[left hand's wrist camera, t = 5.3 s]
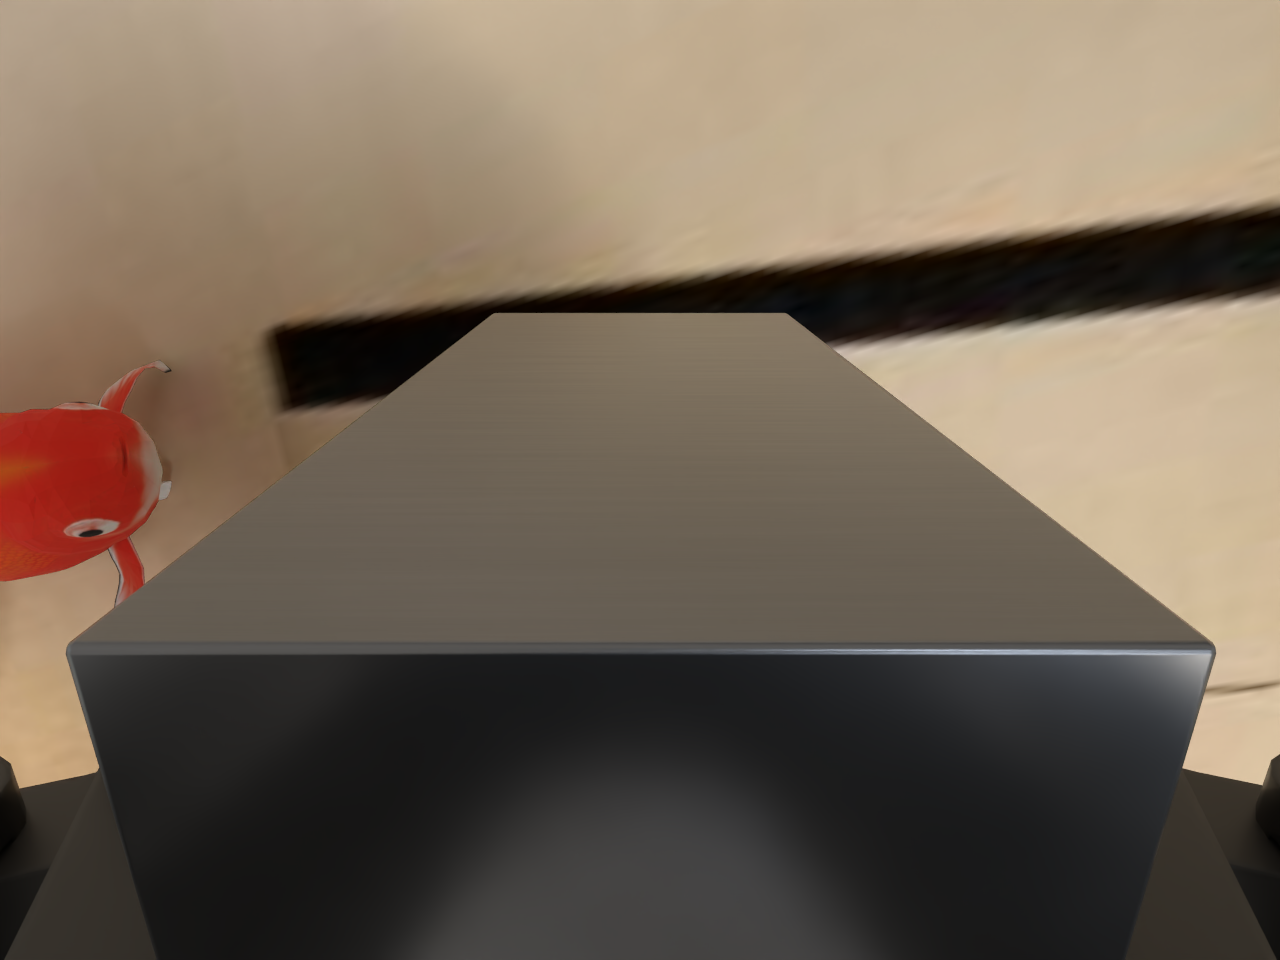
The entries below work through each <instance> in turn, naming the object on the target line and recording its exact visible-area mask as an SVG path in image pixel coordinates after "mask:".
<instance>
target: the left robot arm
mask: <svg viewBox="0 0 1280 960" xmlns="http://www.w3.org/2000/svg"><path fill="white" fill-rule="evenodd" d="M0 960H156V956H155V953H154V949H153V946H152V943H151V939H150V936H149V933H148V929H147V926H146V922H145V919H144V916H143V912H142V909H141V906H140V902H139V899H138V896H137V892H136V889H135V885H134V882H133V879H132V875H131V872H130V869H129V865H128V862H127V858H126V855H125V852H124V848H123V845H122V842H121V838H120V835H119V831H118V828H117V825H116V821H115V818H114V815H113V811H112V808H111V804H110V801H109V798H108V794H107V791H106V788H105V784H104V781H103V777H102V774H101V771H100V767H99V769H98V771H97V772H96V773H92V774H88V775H84V776H79V777H74V778H69V779H64V780H60V781H55V782H50V783H45V784H40V785H35V786H30V787H25V788H21V789H19V787H18V784H17V781H16V778H15V775H14V772H13V769H12V766H11V764H10V763H9V762H8V761H6V760H5V759H3V758H2V757H0ZM1125 960H1280V754H1279V755H1278V756H1277V757H1275V758H1274V759H1272V760H1271V763H1270V766H1269V768H1268V771H1267V774H1266V777H1265V780H1264V783H1263V786H1262V785H1258V784H1253V783H1248V782H1243V781H1238V780H1233V779H1228V778H1223V777H1218V776H1214V775H1209V774H1204V773H1199V772H1194V771H1191V770H1187V769H1183V768H1182V770H1181V773H1180V777H1179V780H1178V783H1177V787H1176V790H1175V793H1174V797H1173V800H1172V803H1171V807H1170V810H1169V814H1168V817H1167V820H1166V824H1165V827H1164V830H1163V834H1162V837H1161V840H1160V844H1159V847H1158V851H1157V854H1156V857H1155V861H1154V864H1153V867H1152V871H1151V874H1150V877H1149V881H1148V884H1147V887H1146V891H1145V894H1144V898H1143V901H1142V904H1141V908H1140V911H1139V914H1138V918H1137V921H1136V924H1135V928H1134V931H1133V935H1132V938H1131V941H1130V945H1129V948H1128V951H1127V955H1126V958H1125Z"/></svg>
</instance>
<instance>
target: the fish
mask: <svg viewBox="0 0 1280 960" xmlns="http://www.w3.org/2000/svg"><path fill="white" fill-rule="evenodd" d="M153 367H155V368H157V369H159V370H161V371H163V372H165V373H166V372H170V371H171V369H170V368H169V367H167V366H166V365H165V364H164V363H163V362H162V361H160V360H158V361H155V362H152V363H150V364H147V365H145V366H142V367H140V368H137V369H134V370H132V371H130V372H129V373H127V374H126V375H124V376H123V377H122V378H121V379H119V380H118V381H117V382H115V383H114V384H113V385H112V386H110V387H109V388H108V389H107V390H106V392H105V393H104V394H103V396H102V397H101V399H100V401H99V403H98V406H97V405H94V404H91V403H85V402H68V403H64V404H60V405H58V406H56V407H54V408H52V409H50V410H42V409H30V410H27V411H24V412H21V413H0V581H10V580H17V579H22V578H27V577H33V576H38V575H43V574H48V573H53V572H57V571H61V570H64V569H67V568H70V567H73V566H75V565H77V564H79V563H81V562H83V561H85V560H88V559H90V558H92V557H94V556H96V555H98V554H100V553H102V552H104V551H105V550H107V549H108V551H109V553H110V556H111V558H112V559H113V561H114V563H115V565H116V567H117V569H118V571H119V586H118V591H117V595H116V600H115V606H114V608H115V607H116V606H117V605H119V604H120V603H121V602H122V601H124V600H125V599H126V598H128V597H129V596H130V595H131V594H133V593H134V592H135V591H137V590H138V589H139V588H140V587H142V586H143V585H144V584H145V579H144V568H143V565H142V563H141V561H140V559H139V556H138V554H137V552H136V550H135V548H134V546H133V543H132V541H131V539H130V537H129V536H130V535H131V534H132V533H133V532H135V531H136V530H137V529H138V528H139V527H140V526H142V525H143V524H144V523H145V522H146V521H147V519H148V517H149V516H150V514H151V512H152V511H153V509H154V508H155V507H156V504H157V502H158V501H159V500H162V499H166V498H167V497H168V495H169V492H170V489H171V484H172V482H171V481H163V482H161V481H162V474H163V470H162V466H161V462H160V459H159V456H158V453H157V450H156V447H155V444H154V441H153V440H152V439H151V438H150V436H149V435H148V434H147V432H146V431H145V430H144V429H143V427H142V426H141V425H140V423H139V422H137V421H135V420H134V419H132V418H130V417H128V416H127V415H125V414H123V413H122V411H123V407H124V404H125V401H126V400H127V398H128V396H129V394H130V392H131V390H132V388H133V386H134V384H135V381H136V379H137V377H138V376H139V375H140V374H141V373H142V371H143V370H144V369H145V368H153Z"/></svg>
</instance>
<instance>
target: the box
mask: <svg viewBox="0 0 1280 960" xmlns="http://www.w3.org/2000/svg"><path fill="white" fill-rule="evenodd" d="M66 656H67V659H68V663H69V666H70V670H71V673H72V676H73V680H74V683H75V686H76V690H77V693H78V697H79V700H80V703H81V707H82V710H83V713H84V717H85V720H86V724H87V727H88V730H89V734H90V737H91V740H92V744H93V747H94V751H95V754H96V757H97V761H98V764H99V767H100V771H101V774H102V777H103V781H104V784H105V788H106V791H107V794H108V798H109V801H110V804H111V808H112V811H113V815H114V818H115V821H116V825H117V828H118V831H119V835H120V838H121V842H122V845H123V848H124V852H125V855H126V858H127V862H128V865H129V869H130V872H131V875H132V879H133V882H134V885H135V889H136V892H137V896H138V899H139V902H140V906H141V909H142V912H143V916H144V919H145V922H146V926H147V929H148V933H149V936H150V939H151V943H152V946H153V949H154V953H155V956H156V960H1125V958H1126V955H1127V951H1128V948H1129V945H1130V941H1131V938H1132V935H1133V931H1134V928H1135V924H1136V921H1137V918H1138V914H1139V911H1140V908H1141V904H1142V901H1143V898H1144V894H1145V891H1146V887H1147V884H1148V881H1149V877H1150V874H1151V871H1152V867H1153V864H1154V861H1155V857H1156V854H1157V851H1158V847H1159V844H1160V840H1161V837H1162V834H1163V830H1164V827H1165V824H1166V820H1167V817H1168V814H1169V810H1170V807H1171V803H1172V800H1173V797H1174V793H1175V790H1176V787H1177V783H1178V780H1179V777H1180V773H1181V770H1182V767H1183V763H1184V760H1185V756H1186V753H1187V750H1188V746H1189V743H1190V740H1191V736H1192V733H1193V730H1194V726H1195V723H1196V719H1197V716H1198V713H1199V709H1200V706H1201V703H1202V699H1203V696H1204V693H1205V689H1206V686H1207V683H1208V679H1209V676H1210V672H1211V669H1212V666H1213V662H1214V659H1215V656H1216V649H1215V646H1214V644H1213V643H1212V642H1211V641H1210V640H1209V639H1207V638H1206V637H1205V636H1203V635H1202V634H1201V633H1200V632H1198V631H1197V630H1196V629H1194V628H1193V627H1192V626H1190V625H1189V624H1188V623H1187V622H1185V621H1184V620H1183V619H1181V618H1180V617H1179V616H1178V615H1176V614H1175V613H1174V612H1172V611H1171V610H1170V609H1168V608H1167V607H1166V606H1165V605H1163V604H1162V603H1161V602H1159V601H1158V600H1157V599H1156V598H1154V597H1153V596H1152V595H1150V594H1149V593H1148V592H1146V591H1145V590H1144V589H1143V588H1141V587H1140V586H1139V585H1137V584H1136V583H1135V582H1134V581H1132V580H1131V579H1130V578H1128V577H1127V576H1126V575H1124V574H1123V573H1122V572H1121V571H1119V570H1118V569H1117V568H1115V567H1114V566H1113V565H1112V564H1110V563H1109V562H1108V561H1106V560H1105V559H1104V558H1102V557H1101V556H1100V555H1099V554H1097V553H1096V552H1095V551H1093V550H1092V549H1091V548H1089V547H1088V546H1087V545H1086V544H1084V543H1083V542H1082V541H1080V540H1079V539H1078V538H1077V537H1075V536H1074V535H1073V534H1071V533H1070V532H1069V531H1067V530H1066V529H1065V528H1064V527H1062V526H1061V525H1060V524H1058V523H1057V522H1056V521H1055V520H1053V519H1052V518H1051V517H1049V516H1048V515H1047V514H1045V513H1044V512H1043V511H1042V510H1040V509H1039V508H1038V507H1036V506H1035V505H1034V504H1033V503H1031V502H1030V501H1029V500H1027V499H1026V498H1025V497H1023V496H1022V495H1021V494H1020V493H1018V492H1017V491H1016V490H1014V489H1013V488H1012V487H1011V486H1009V485H1008V484H1007V483H1005V482H1004V481H1003V480H1001V479H1000V478H999V477H998V476H996V475H995V474H994V473H992V472H991V471H990V470H989V469H987V468H986V467H985V466H983V465H982V464H981V463H979V462H978V461H977V460H976V459H974V458H973V457H972V456H970V455H969V454H968V453H967V452H965V451H964V450H963V449H961V448H960V447H959V446H957V445H956V444H955V443H954V442H952V441H951V440H950V439H948V438H947V437H946V436H944V435H943V434H942V433H941V432H939V431H938V430H937V429H935V428H934V427H933V426H932V425H930V424H929V423H928V422H926V421H925V420H924V419H922V418H921V417H920V416H919V415H917V414H916V413H915V412H913V411H912V410H911V409H910V408H908V407H907V406H906V405H904V404H903V403H902V402H900V401H899V400H898V399H897V398H895V397H894V396H893V395H891V394H890V393H889V392H888V391H886V390H885V389H884V388H882V387H881V386H880V385H878V384H877V383H876V382H875V381H873V380H872V379H871V378H869V377H868V376H867V375H866V374H864V373H863V372H862V371H860V370H859V369H858V368H856V367H855V366H854V365H853V364H851V363H850V362H849V361H847V360H846V359H845V358H844V357H842V356H841V355H840V354H838V353H837V352H836V351H834V350H833V349H832V348H831V347H829V346H828V345H827V344H825V343H824V342H823V341H821V340H820V339H819V338H818V337H816V336H815V335H814V334H812V333H811V332H810V331H809V330H807V329H806V328H805V327H803V326H802V325H801V324H799V323H798V322H797V321H796V320H794V319H793V318H792V317H790V316H789V315H788V314H786V313H494V314H492V315H491V316H490V317H488V318H487V319H486V320H485V321H483V322H482V323H481V324H479V325H478V326H477V327H476V328H474V329H473V330H472V331H470V332H469V333H468V334H467V335H465V336H464V337H463V338H461V339H460V340H459V341H458V342H456V343H455V344H454V345H452V346H451V347H450V348H449V349H447V350H446V351H445V352H443V353H442V354H441V355H439V356H438V357H437V358H436V359H434V360H433V361H432V362H430V363H429V364H428V365H427V366H425V367H424V368H423V369H421V370H420V371H419V372H418V373H416V374H415V375H414V376H412V377H411V378H410V379H409V380H407V381H406V382H405V383H403V384H402V385H401V386H400V387H398V388H397V389H396V390H394V391H393V392H392V393H391V394H389V395H388V396H387V397H385V398H384V399H383V400H381V401H380V402H379V403H378V404H376V405H375V406H374V407H372V408H371V409H370V410H369V411H367V412H366V413H365V414H363V415H362V416H361V417H360V418H358V419H357V420H356V421H354V422H353V423H352V424H351V425H349V426H348V427H347V428H345V429H344V430H343V431H342V432H340V433H339V434H338V435H336V436H335V437H334V438H333V439H331V440H330V441H329V442H327V443H326V444H325V445H323V446H322V447H321V448H320V449H318V450H317V451H316V452H314V453H313V454H312V455H311V456H309V457H308V458H307V459H305V460H304V461H303V462H302V463H300V464H299V465H298V466H296V467H295V468H294V469H293V470H291V471H290V472H289V473H287V474H286V475H285V476H284V477H282V478H281V479H280V480H278V481H277V482H276V483H275V484H273V485H272V486H271V487H269V488H268V489H267V490H265V491H264V492H263V493H262V494H260V495H259V496H258V497H256V498H255V499H254V500H253V501H251V502H250V503H249V504H247V505H246V506H245V507H244V508H242V509H241V510H240V511H238V512H237V513H236V514H235V515H233V516H232V517H231V518H229V519H228V520H227V521H226V522H224V523H223V524H222V525H220V526H219V527H218V528H217V529H215V530H214V531H213V532H211V533H210V534H209V535H208V536H206V537H205V538H204V539H202V540H201V541H200V542H198V543H197V544H196V545H195V546H193V547H192V548H191V549H189V550H188V551H187V552H186V553H184V554H183V555H182V556H180V557H179V558H178V559H177V560H175V561H174V562H173V563H171V564H170V565H169V566H168V567H166V568H165V569H164V570H162V571H161V572H160V573H159V574H157V575H156V576H155V577H153V578H152V579H151V580H150V581H148V582H147V583H146V584H144V585H143V586H142V587H140V588H139V589H138V590H137V591H135V592H134V593H133V594H131V595H130V596H129V597H128V598H126V599H125V600H124V601H122V602H121V603H120V604H119V605H117V606H116V607H115V608H113V609H112V610H111V611H110V612H108V613H107V614H106V615H104V616H103V617H102V618H101V619H99V620H98V621H97V622H95V623H94V624H93V625H92V626H90V627H89V628H88V629H86V630H85V631H84V632H82V633H81V634H80V635H79V636H77V637H76V638H75V639H73V640H72V641H71V642H70V643H69V644H68V646H67V649H66Z"/></svg>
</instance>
